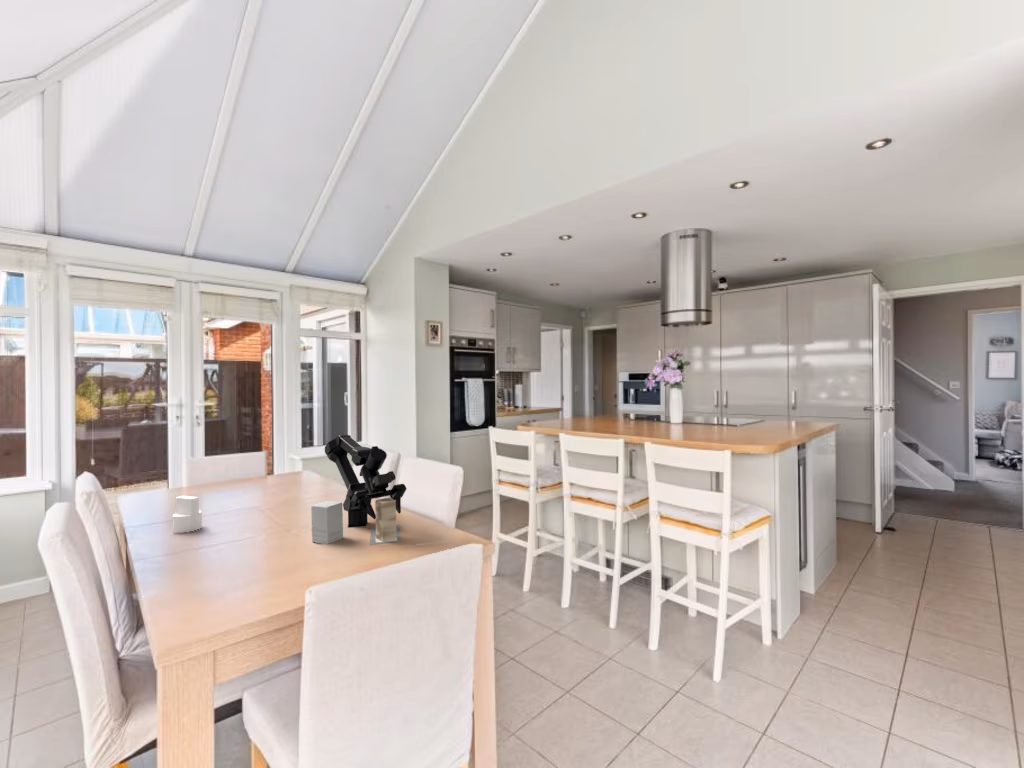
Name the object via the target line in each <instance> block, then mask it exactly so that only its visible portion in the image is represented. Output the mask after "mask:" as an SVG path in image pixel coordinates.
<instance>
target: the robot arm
mask: <svg viewBox="0 0 1024 768" xmlns="http://www.w3.org/2000/svg"><path fill="white" fill-rule="evenodd" d="M324 453H325V455H326V457H327V458H328V459H329V461H331V462H333V463H335V465H336V467H337V469H338V472H339V474H340V476H341V478H342V480H343V483H344V485H345V487H346V489H347V491H346V495H345V500H344V502H342V509H343V510H344V511H345V512H347V521H348V522H347V523H348V524H347V528H358V527H359V528H360V527H366V526H367V524H368V522H369V521H368V520H369V518H368V516H370V517H371V518H372V519H374V520H376V512H375V510H374V508H373V505H372V499H373V500H374V499H379V498H384V497H385V498H386V497H389V498H391V499H394V500H396V513H397V514H399V515H400V514H401V513H402V506H401V505H402V503H401V500H402V498H403V496H404V494H405V493H406V491H407V487H406V485H405V484H404V483H399V484H393V486H392V488H391V489H388V488H389V486H390V485H389V484H392V482H394V481H395V480H396V475H395V471H393V470H392V471H388V472H387V473H382V474H380V471H379V470H381V469H382V467H383V465H384V463H385V460H386V459H387V456H388V455H387V452H386V451H385V450H383V449H382V448H379V447H378V445H374V446H371V448H370V447H367V446H362V445H361V444H359V443H358V442H357V441H355V439H353V438H352V436H351V435H349V434H342V435H340V434H339V435H337V436H336V437H335V438H334V439H331V440H330V441H328V442H327V443H326V445H325V446H324ZM348 454H349V455H350V456H351V461H350V460H349V458H348ZM351 462H352V463H353V464H354V465H355V467H359V466H361V468H360V471H359V477H362V479H363V481H364V482H360V481H359V479H358V477H357V474H356V473H355V470H354V469H353V467H352V464H351Z"/></svg>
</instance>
